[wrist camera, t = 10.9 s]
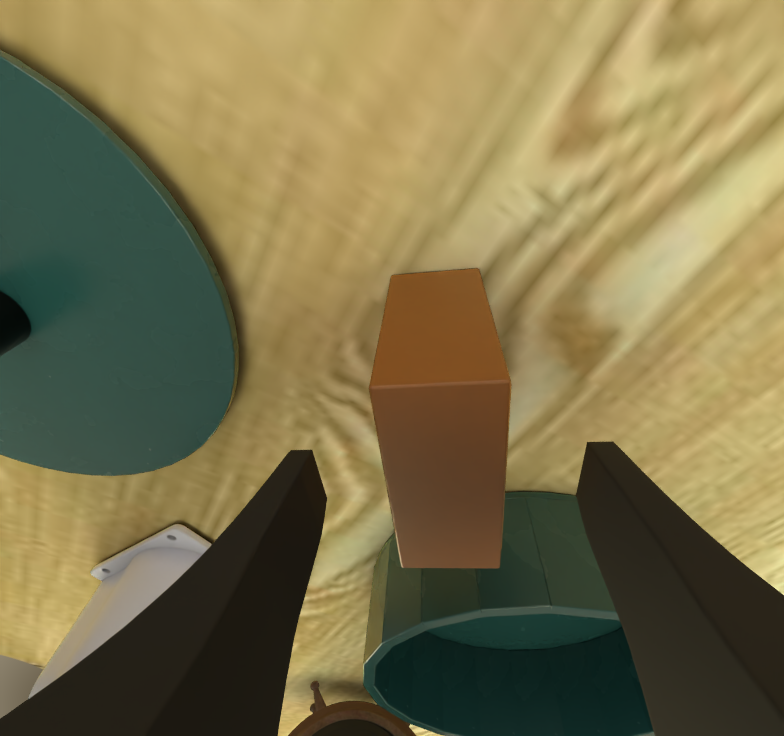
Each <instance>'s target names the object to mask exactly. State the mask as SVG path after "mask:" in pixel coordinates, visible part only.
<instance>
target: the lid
mask: <svg viewBox="0 0 784 736" xmlns="http://www.w3.org/2000/svg"><path fill="white" fill-rule="evenodd" d="M238 372H239V346H238V339H237V333H236V326H235V320H234V316H233V313H232V310H231V306H230V303H229V299H228V296H227V293H226V290H225V287H224V285H223V283H222V280H221V278H220V276H219V274H218V271H217V269H216V267H215V264H214V262H213V260H212V258H211V256H210V254H209V253H208V251H207V249H206V247H205V245H204V244H203V242H202V240H201V238H200V237H199V235H198V233H197V231H196V230H195V228H194V226H193V225H192V223H191V222H190V220H189V219H188V218H187V216H186V215H185V213H184V212H183V211H182V209H181V208H180V206H179V205H178V203H177V202H176V201H175V199H174V198H173V196H172V195H171V194H170V192H169V191H168V190H167V189H166V187H165V186H164V185H163V184H162V183H161V182H160V180H159V179H158V178H157V177H156V176H155V175H154V173H153V172H152V171H151V170H150V169H149V168H148V166H147V165H146V164H145V163H144V162H143V161H142V159H141V158H140V157H139V156H138V155H137V154H136V153H135V152H134V151H133V150H132V149H131V148H130V147H129V146H128V145H127V144H126V143H125V142H124V141H123V140H121V139H120V138H119V137H118V136H117V135H116V134H115V133H114V132H113V131H112V130H111V129H110V128H109V127H108V126H107V125H106V124H105V123H104V122H103V121H102V120H100V119H99V118H98V117H97V116H95V115H94V114H93V113H92V112H90V111H89V110H88V109H87V108H86V107H84V106H83V105H82V104H81V103H79V102H78V101H77V100H76V99H74V98H73V97H72V96H71V95H69V94H68V93H67V92H66V91H65V90H63V89H62V88H60V87H59V86H57V85H56V84H54V83H53V82H51V81H50V80H48V79H47V78H45V77H44V76H42V75H41V74H39V73H38V72H36V71H35V70H33V69H32V68H30V67H29V66H27V65H26V64H24V63H23V62H21V61H20V60H18V59H17V58H15V57H13V56H11V55H9V54H7V53H5V52H3V51H1V50H0V455H3V456H6V457H9V458H12V459H15V460H18V461H21V462H25V463H28V464H32V465H36V466H40V467H43V468H48V469H53V470H58V471H63V472H68V473H77V474H85V475H102V476H118V475H131V474H138V473H144V472H149V471H154V470H157V469H160V468H163V467H166V466H169V465H172V464H174V463H176V462H178V461H180V460H182V459H184V458H186V457H188V456H189V455H190V454H192V453H193V452H195V451H196V450H197V449H199V448H200V447H201V446H203V445H204V444H205V442H206V441H207V440H208V439H209V438H210V437H211V436H212V435H213V434H214V433H215V431H216V430H217V428H218V426H219V425H220V423H221V422H222V420H223V418H224V417H225V415H226V413H227V412H228V410H229V407H230V404H231V402H232V399H233V396H234V394H235V389H236V384H237V378H238Z"/></svg>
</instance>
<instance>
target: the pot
mask: <svg viewBox="0 0 784 736" xmlns="http://www.w3.org/2000/svg"><path fill="white" fill-rule="evenodd" d="M363 685H364V687H365V689H366V690H367V691H368V692H369V694H370V695H371V696H372V698H373V699H374V700H375V702H376V703H377V704H378V705H379V706H380V707H382V708H384V709H385V710H387V711H388V712H390V713H392V714H393V715H395V716H396V717H398V718H400V719H401V720H403V721H405V722H407V723H410V724H413V725H415V726H418V727H421V728H424V729H426V730H429V731H432V732H434V733H437V734H440V735H445V736H655V734H654V731H653V727H652V723H651V720H650V716H649V713H648V709H647V705H646V702H645V698H644V695H643V691H642V688H641V684H640V681H639V678H638V674H637V671H636V667H635V664H634V661H633V657H632V654H631V650H630V647H629V644H628V641H627V639H626V636H625V633H624V630H623V627H622V625H621V622H620V620H619V617H618V614H617V612H616V609H615V607H614V604H613V602H612V599H611V597H610V594H609V592H608V589H607V587H606V584H605V581H604V579H603V576H602V574H601V571H600V569H599V566H598V564H597V561H596V559H595V556H594V553H593V551H592V548H591V546H590V543H589V540H588V538H587V535H586V532H585V528H584V524H583V521H582V517H581V513H580V509H579V505H578V501H577V497H576V496H573V495H567V494H558V493H550V492H507V493H505V500H504V516H503V533H502V549H501V559H500V568H403V567H401V563H400V558H399V552H398V547H397V542H396V536H395V533H394V534H393V535H392V536H391V538H390V539H389V540H388V541H387V542H386V543H385V545H384V546H383V548H382V550H381V551H380V553H379V555H378V558H377V561H376V564H375V566H374V573H373V582H372V591H371V600H370V609H369V618H368V626H367V635H366V644H365V653H364V662H363Z"/></svg>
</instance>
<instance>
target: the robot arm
mask: <svg viewBox="0 0 784 736" xmlns="http://www.w3.org/2000/svg"><path fill="white" fill-rule="evenodd" d="M576 497H577V501H578V505H579V509H580V513H581V517H582V521H583V524H584V528H585V532H586V535H587V538H588V540H589V543H590V546H591V548H592V551H593V553H594V556H595V559H596V561H597V564H598V566H599V569H600V571H601V574H602V576H603V579H604V581H605V584H606V587H607V589H608V592H609V594H610V597H611V599H612V602H613V604H614V607H615V609H616V612H617V614H618V617H619V620H620V622H621V625H622V627H623V630H624V633H625V636H626V639H627V641H628V644H629V647H630V650H631V654H632V657H633V661H634V664H635V667H636V671H637V674H638V678H639V681H640V684H641V688H642V691H643V695H644V698H645V702H646V705H647V709H648V713H649V716H650V720H651V723H652V727H653V731H654V734H655V736H784V595H783V594H781V593H780V592H779V591H777V590H776V589H775V588H774V587H772V586H771V585H770V584H768V583H767V582H766V581H765V580H763V579H762V578H761V577H759V576H758V575H757V574H756V573H754V572H753V571H752V570H750V569H749V568H748V567H747V566H746V565H744V564H743V563H742V562H741V561H739V560H738V559H737V558H736V557H735V556H733V555H732V554H731V553H730V552H729V551H728V550H726V549H725V548H724V547H723V546H722V545H721V544H720V543H718V542H717V541H716V540H715V539H714V538H713V537H711V536H710V535H709V534H708V533H707V532H706V531H705V530H704V529H702V528H701V527H700V526H699V525H698V524H697V523H696V522H695V521H694V520H692V519H691V518H690V517H689V516H688V515H687V514H686V513H685V512H684V511H683V510H682V509H681V508H680V507H679V506H678V505H676V504H675V503H674V502H673V501H672V500H671V499H670V498H669V497H668V496H667V495H666V494H665V493H664V492H663V491H662V490H661V489H660V488H659V487H658V486H657V485H656V484H655V483H654V482H653V481H652V480H651V479H650V478H649V477H648V476H647V475H646V474H645V473H644V472H643V471H642V470H641V469H640V468H639V467H638V466H637V465H636V464H635V463H634V462H633V461H632V460H631V459H630V458H629V457H628V456H627V455H626V454H625V453H624V452H623V451H622V450H621V449H620V448H619V447H618V446H617V445H616V444H615V443H614V442H587V446H586V450H585V455H584V460H583V465H582V470H581V474H580V479H579V484H578V489H577V493H576ZM326 502H327V497H326V493H325V490H324V487H323V484H322V480H321V477H320V474H319V471H318V467H317V464H316V461H315V458H314V455H313V451H312V450H291V451H290V452H289V453H288V454H287V455H286V457H285V458H284V459H283V460H282V462H281V463H280V464H279V465H278V467H277V468H276V469H275V471H274V472H273V473H272V474H271V476H270V477H269V478H268V479H267V481H266V482H265V483H264V484H263V486H262V487H261V488H260V489H259V491H258V492H257V493H256V494H255V496H254V497H253V498H252V499H251V500H250V502H249V503H248V504H247V505H246V506H245V508H244V509H243V510H242V511H241V512H240V514H239V515H238V516H237V517H236V518H235V519H234V521H233V522H232V523H231V524H230V525H229V526H228V527H227V528H226V530H225V531H224V532H223V533H222V534H221V535H220V536H219V537H218V538H217V539H216V541H215V542H214V543H213V544H211V543H210V542H208V541H207V540H205V539H204V538H202V537H201V536H199V535H197V534H196V533H194V532H193V531H191V530H190V529H188V528H187V527H185V526H183V525H180V524H175V525H172V526H170V527H168V528H166V529H164V530H163V531H161V532H159V533H157V534H155V535H153V536H151V537H149V538H147V539H145V540H143V541H141V542H140V543H138V544H136V545H134V546H132V547H130V548H128V549H126V550H124V551H122V552H120V553H119V554H117V555H115V556H113V557H111V558H109V559H107V560H105V561H103V562H101V563H99V564H97V565H96V566H94V567H93V569H92V570H91V571H90V573H91V575H92V576H94V577H95V578H97V579H99V580H101V581H102V582H101V583H100V585H99V586H98V588H97V590H96V591H95V593H94V594H93V596H92V597H91V599H90V600H89V602H88V603H87V605H86V606H85V608H84V609H83V611H82V612H81V614H80V615H79V617H78V618H77V620H76V621H75V623H74V624H73V626H72V627H71V629H70V630H69V632H68V633H67V635H66V636H65V638H64V639H63V641H62V642H61V644H60V645H59V647H58V648H57V650H56V651H55V653H54V654H53V656H52V657H51V659H50V660H49V662H48V663H47V665H46V666H45V668H44V669H43V671H42V672H41V674H40V675H39V677H38V679H37V681H36V683H35V684H34V686H33V688H32V690H31V693H30V695H29V698H28V700H26V701H25V702H24V703H22V704H21V705H19V706H18V707H16V708H15V709H14V710H12V711H11V712H10V713H8V714H7V715H5V716H3V717H2V718H1V719H0V736H277V735H278V729H279V722H280V716H281V710H282V704H283V698H284V692H285V686H286V679H287V674H288V668H289V663H290V658H291V652H292V647H293V641H294V636H295V632H296V628H297V623H298V619H299V615H300V612H301V608H302V604H303V601H304V597H305V594H306V590H307V586H308V583H309V579H310V576H311V572H312V568H313V565H314V561H315V557H316V554H317V550H318V546H319V543H320V539H321V535H322V529H323V523H324V517H325V509H326Z"/></svg>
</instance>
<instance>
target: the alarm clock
mask: <svg viewBox="0 0 784 736" xmlns="http://www.w3.org/2000/svg"><path fill="white" fill-rule="evenodd" d="M318 687H319V683H318V681H313V682H312V683H311V689H312V690H313V691H314V699H315V704H312V705H311V706H310V711H311V712H313V714H312V715H310V716H309V717H307V718H306V719H305V720H304V721H302V722H301V723H300V724H299V725H298V726H297V727H296V728H295V729H294V730H293V731H292V732H291V733H290V734H289V735H288V736H416V735H415V734H414V732H413V731H412V730H411V729H410V728H409V725H410V723H407V722H405V721H403V720H401V719H400V718H398V717H396V716H395V715H393V714H392V713H390V712H388V711H387V710H385V709H384V708H382V707H380V706H378V705H375V704H372V703H368V702H362V701H345V702H339V703H335V704H332V705H329V706H327V707H326V705H325V702H324V700H323V698H322V696H321V694H320V691H319V689H318Z"/></svg>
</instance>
